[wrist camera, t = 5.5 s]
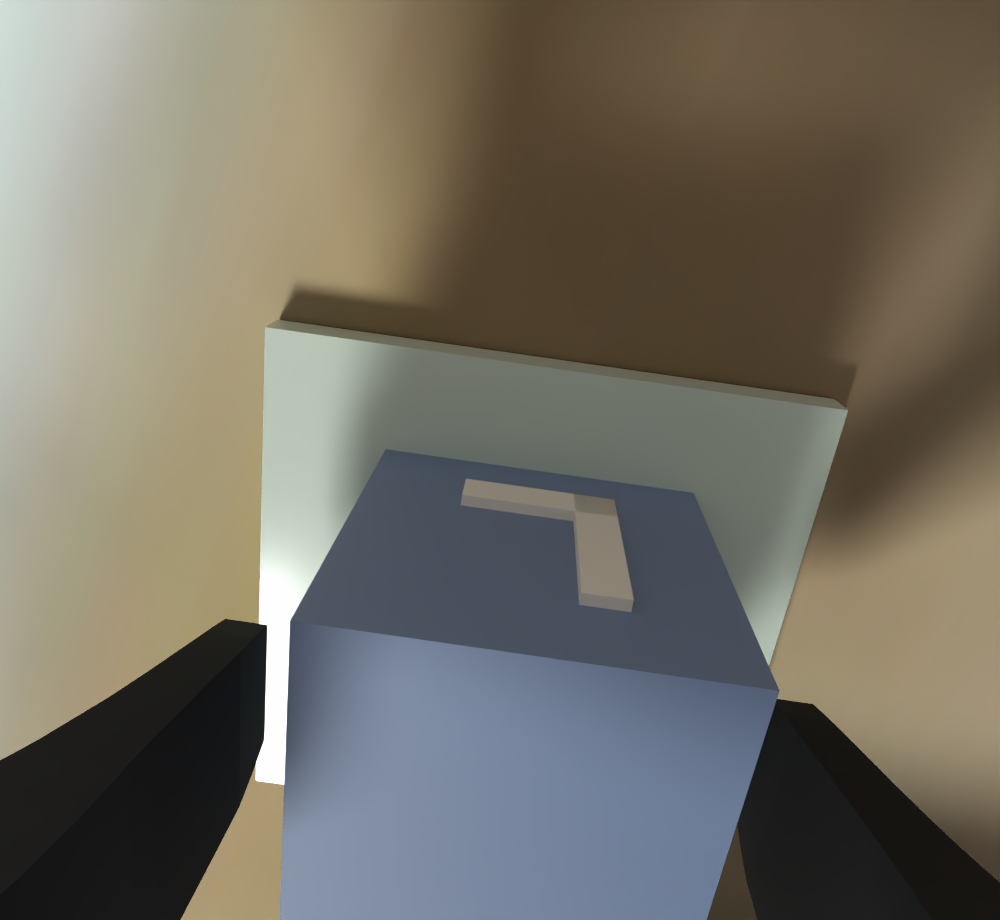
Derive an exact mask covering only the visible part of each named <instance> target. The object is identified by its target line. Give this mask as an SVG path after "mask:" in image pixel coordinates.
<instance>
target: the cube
mask: <svg viewBox="0 0 1000 920" xmlns="http://www.w3.org/2000/svg"><path fill="white" fill-rule="evenodd" d="M778 694H779V689H778V687H777V684H776V682H775V680H774V677H773V675H772V673H771V670H770V668H769V666H768V664H767V661H766V659H765V657H764V654H763V652H762V650H761V647H760V645H759V643H758V640H757V638H756V636H755V634H754V631H753V629H752V627H751V624H750V622H749V620H748V617H747V615H746V613H745V610H744V608H743V606H742V604H741V601H740V599H739V597H738V594H737V592H736V590H735V587H734V585H733V583H732V580H731V578H730V576H729V574H728V571H727V569H726V567H725V564H724V562H723V560H722V557H721V555H720V553H719V551H718V548H717V546H716V544H715V541H714V539H713V537H712V534H711V532H710V530H709V527H708V525H707V523H706V521H705V518H704V516H703V514H702V511H701V509H700V507H699V504H698V502H697V500H696V497H695V495H694V493H691V492H684V491H676V490H669V489H662V488H655V487H648V486H641V485H634V484H627V483H620V482H613V481H606V480H599V479H592V478H585V477H578V476H571V475H564V474H557V473H550V472H542V471H535V470H528V469H521V468H514V467H507V466H500V465H493V464H486V463H479V462H472V461H465V460H458V459H451V458H444V457H437V456H430V455H423V454H415V453H408V452H401V451H394V450H387V449H385V451H384V453H383V455H382V457H381V458H380V460H379V462H378V464H377V466H376V467H375V469H374V471H373V473H372V475H371V476H370V478H369V480H368V482H367V484H366V485H365V487H364V489H363V491H362V493H361V494H360V496H359V498H358V500H357V502H356V503H355V505H354V507H353V509H352V511H351V512H350V514H349V516H348V518H347V520H346V521H345V523H344V525H343V527H342V529H341V530H340V532H339V534H338V536H337V538H336V539H335V541H334V543H333V545H332V546H331V548H330V550H329V552H328V554H327V555H326V557H325V559H324V561H323V563H322V564H321V566H320V568H319V570H318V572H317V573H316V575H315V577H314V579H313V581H312V582H311V584H310V586H309V588H308V590H307V591H306V593H305V595H304V597H303V599H302V600H301V602H300V604H299V606H298V608H297V609H296V611H295V613H294V615H293V617H292V618H291V620H290V638H289V666H288V694H287V722H286V751H285V779H284V807H283V835H282V864H281V892H280V920H707V917H708V914H709V911H710V908H711V904H712V901H713V898H714V895H715V892H716V889H717V886H718V882H719V879H720V876H721V873H722V870H723V867H724V864H725V860H726V857H727V854H728V851H729V848H730V845H731V842H732V838H733V835H734V832H735V829H736V826H737V823H738V820H739V816H740V813H741V810H742V807H743V804H744V801H745V798H746V794H747V791H748V788H749V785H750V782H751V779H752V776H753V772H754V769H755V766H756V763H757V760H758V757H759V754H760V750H761V747H762V744H763V741H764V738H765V735H766V732H767V728H768V725H769V722H770V719H771V716H772V713H773V710H774V706H775V703H776V700H777V697H778Z"/></svg>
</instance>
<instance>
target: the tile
mask: <svg viewBox="0 0 1000 920" xmlns="http://www.w3.org/2000/svg"><path fill="white" fill-rule="evenodd" d="M847 413H848V410H847V409H846V408H845V407H844V406H842V405H841V404H840V403H839V402H838V401H836V400H835V399H830V398H823V397H816V396H809V395H802V394H795V393H788V392H781V391H774V390H767V389H760V388H753V387H746V386H739V385H732V384H725V383H718V382H711V381H704V380H697V379H690V378H683V377H676V376H669V375H662V374H655V373H648V372H641V371H634V370H627V369H620V368H613V367H606V366H599V365H592V364H585V363H578V362H571V361H564V360H557V359H550V358H543V357H536V356H529V355H522V354H515V353H508V352H501V351H494V350H487V349H480V348H473V347H466V346H459V345H452V344H445V343H438V342H431V341H424V340H417V339H410V338H403V337H396V336H389V335H382V334H375V333H368V332H361V331H354V330H347V329H340V328H333V327H326V326H319V325H312V324H305V323H298V322H291V321H284V320H276V321H275V322H273V323H271V324H270V325H268V326H266V327H265V360H264V409H263V457H262V506H261V554H260V603H259V624H263V625H267V660H266V700H265V740H264V742H263V745H262V748H261V750H260V753H259V756H258V759H257V761H256V781H262V782H269V783H276V784H283V785H284V779H285V751H286V722H287V694H288V666H289V638H290V620H291V618H292V617H293V615H294V613H295V611H296V609H297V608H298V606H299V604H300V602H301V600H302V599H303V597H304V595H305V593H306V591H307V590H308V588H309V586H310V584H311V582H312V581H313V579H314V577H315V575H316V573H317V572H318V570H319V568H320V566H321V564H322V563H323V561H324V559H325V557H326V555H327V554H328V552H329V550H330V548H331V546H332V545H333V543H334V541H335V539H336V538H337V536H338V534H339V532H340V530H341V529H342V527H343V525H344V523H345V521H346V520H347V518H348V516H349V514H350V512H351V511H352V509H353V507H354V505H355V503H356V502H357V500H358V498H359V496H360V494H361V493H362V491H363V489H364V487H365V485H366V484H367V482H368V480H369V478H370V476H371V475H372V473H373V471H374V469H375V467H376V466H377V464H378V462H379V460H380V458H381V457H382V455H383V453H384V451H385V449H387V450H394V451H401V452H408V453H415V454H423V455H430V456H437V457H444V458H451V459H458V460H465V461H472V462H479V463H486V464H493V465H500V466H507V467H514V468H521V469H528V470H535V471H542V472H550V473H557V474H564V475H571V476H578V477H585V478H592V479H599V480H606V481H613V482H620V483H627V484H634V485H641V486H648V487H655V488H662V489H669V490H676V491H684V492H691V493H694V495H695V497H696V500H697V502H698V504H699V507H700V509H701V511H702V514H703V516H704V518H705V521H706V523H707V525H708V527H709V530H710V532H711V534H712V537H713V539H714V541H715V544H716V546H717V548H718V551H719V553H720V555H721V557H722V560H723V562H724V564H725V567H726V569H727V571H728V574H729V576H730V578H731V580H732V583H733V585H734V587H735V590H736V592H737V594H738V597H739V599H740V601H741V604H742V606H743V608H744V610H745V613H746V615H747V617H748V620H749V622H750V624H751V627H752V629H753V631H754V634H755V636H756V638H757V640H758V643H759V645H760V647H761V650H762V652H763V654H764V657H765V659H766V661H767V664H768V666H769V664H770V661H771V658H772V655H773V651H774V648H775V645H776V642H777V639H778V635H779V632H780V629H781V626H782V622H783V619H784V616H785V613H786V610H787V606H788V603H789V600H790V597H791V593H792V590H793V587H794V584H795V581H796V577H797V574H798V571H799V568H800V564H801V561H802V558H803V555H804V552H805V548H806V545H807V542H808V539H809V535H810V532H811V529H812V526H813V523H814V519H815V516H816V513H817V510H818V506H819V503H820V500H821V497H822V494H823V490H824V487H825V484H826V481H827V477H828V474H829V471H830V468H831V465H832V461H833V458H834V455H835V452H836V448H837V445H838V442H839V439H840V436H841V432H842V429H843V426H844V423H845V419H846V416H847Z"/></svg>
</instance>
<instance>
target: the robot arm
mask: <svg viewBox="0 0 1000 920" xmlns="http://www.w3.org/2000/svg"><path fill="white" fill-rule="evenodd" d="M266 660H267V625H263V624H256V623H249V622H242V621H236V620H229V619H225V620H223V621H221V622H220V623H218V624H217V625H215V626H214V627H212V628H211V629H209V630H208V631H206V632H205V633H204V634H202V635H201V636H199V637H198V638H196V639H195V640H193V641H192V642H190V643H189V644H187V645H186V646H185V647H183V648H182V649H180V650H179V651H177V652H176V653H174V654H173V655H171V656H170V657H169V658H167V659H166V660H164V661H163V662H161V663H160V664H158V665H157V666H155V667H154V668H152V669H151V670H150V671H148V672H147V673H145V674H144V675H142V676H141V677H139V678H137V679H136V680H134V681H133V682H131V683H130V684H128V685H127V686H125V687H124V688H122V689H121V690H119V691H118V692H116V693H115V694H113V695H112V696H110V697H109V698H107V699H105V700H104V701H102V702H100V703H99V704H97V705H95V706H94V707H92V708H90V709H89V710H87V711H85V712H84V713H82V714H80V715H79V716H77V717H75V718H74V719H72V720H70V721H69V722H67V723H65V724H64V725H62V726H60V727H59V728H57V729H55V730H54V731H52V732H50V733H49V734H47V735H45V736H44V737H42V738H41V739H39V740H37V741H35V742H33V743H32V744H30V745H28V746H26V747H24V748H23V749H21V750H19V751H17V752H15V753H13V754H11V755H10V756H8V757H6V758H4V759H2V760H0V920H180V919H181V917H182V916H183V914H184V912H185V910H186V908H187V906H188V904H189V902H190V900H191V898H192V896H193V895H194V893H195V891H196V889H197V887H198V885H199V883H200V881H201V879H202V877H203V876H204V874H205V872H206V870H207V868H208V866H209V864H210V862H211V860H212V858H213V856H214V855H215V853H216V851H217V849H218V847H219V845H220V843H221V841H222V839H223V837H224V835H225V833H226V831H227V829H228V827H229V826H230V824H231V822H232V820H233V818H234V816H235V814H236V812H237V810H238V808H239V806H240V803H241V801H242V798H243V796H244V793H245V790H246V788H247V785H248V783H249V780H250V778H251V775H252V772H253V770H254V767H255V764H256V761H257V759H258V756H259V753H260V750H261V748H262V745H263V742H264V740H265V700H266ZM737 825H738V832H739V838H740V845H741V851H742V857H743V863H744V868H745V874H746V880H747V884H748V887H749V891H750V894H751V898H752V902H753V905H754V909H755V912H756V916H757V919H758V920H1000V883H999V882H998V881H997V880H996V879H995V878H994V877H993V876H991V875H990V874H989V873H988V872H987V871H986V870H985V869H984V868H982V867H981V866H980V865H979V864H978V863H977V862H976V861H975V860H974V859H972V858H971V857H970V856H969V855H968V854H967V853H966V852H965V851H963V850H962V849H961V848H960V847H959V846H958V845H957V844H956V843H955V842H954V841H953V840H952V839H951V838H949V837H948V836H947V835H946V834H945V833H944V832H943V831H942V830H941V829H940V828H939V827H938V826H937V825H936V824H935V823H934V822H932V821H931V820H930V819H929V818H928V817H927V816H926V815H925V814H924V813H923V812H922V811H921V810H920V809H919V808H918V807H917V806H916V805H915V804H914V803H913V802H912V801H911V800H910V799H909V798H908V797H907V796H906V795H905V794H904V793H903V792H902V791H901V790H900V789H899V788H898V787H897V786H896V785H895V784H894V783H893V782H892V781H891V780H890V779H889V778H888V777H887V776H886V775H885V774H884V773H883V772H882V771H881V770H880V769H879V768H878V767H877V766H876V765H875V764H874V763H873V762H872V761H871V760H870V759H869V758H868V757H867V756H866V755H865V754H864V753H863V752H862V751H861V750H860V749H859V748H858V747H857V746H856V745H855V744H854V743H853V742H852V741H851V740H850V739H849V738H848V737H847V736H846V735H845V734H844V733H843V732H842V731H841V730H840V729H839V728H838V727H837V726H836V725H835V724H834V723H833V722H832V721H830V720H829V719H828V718H827V717H826V716H825V715H824V714H823V713H822V712H821V711H820V710H819V709H818V708H816V707H815V706H814V705H813V704H808V703H801V702H794V701H787V700H780V699H777V700H776V703H775V706H774V710H773V713H772V716H771V719H770V722H769V725H768V728H767V732H766V735H765V738H764V741H763V744H762V747H761V750H760V754H759V757H758V760H757V763H756V766H755V769H754V772H753V776H752V779H751V782H750V785H749V788H748V791H747V794H746V798H745V801H744V804H743V807H742V810H741V813H740V816H739V820H738V823H737Z"/></svg>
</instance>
